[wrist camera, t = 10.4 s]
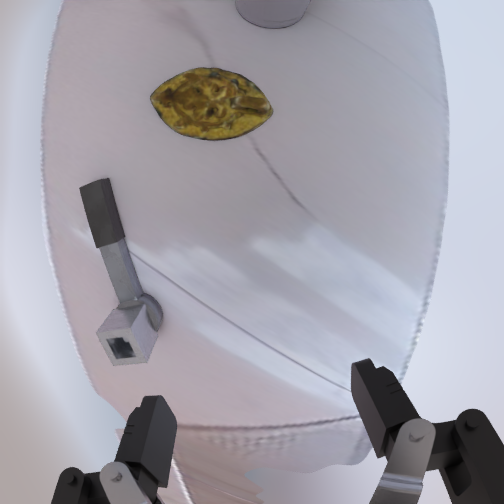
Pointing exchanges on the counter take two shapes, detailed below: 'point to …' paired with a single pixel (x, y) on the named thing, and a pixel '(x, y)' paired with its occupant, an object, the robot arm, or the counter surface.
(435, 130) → the counter surface
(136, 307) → the hollow square tube
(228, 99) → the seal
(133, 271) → the ratchet
